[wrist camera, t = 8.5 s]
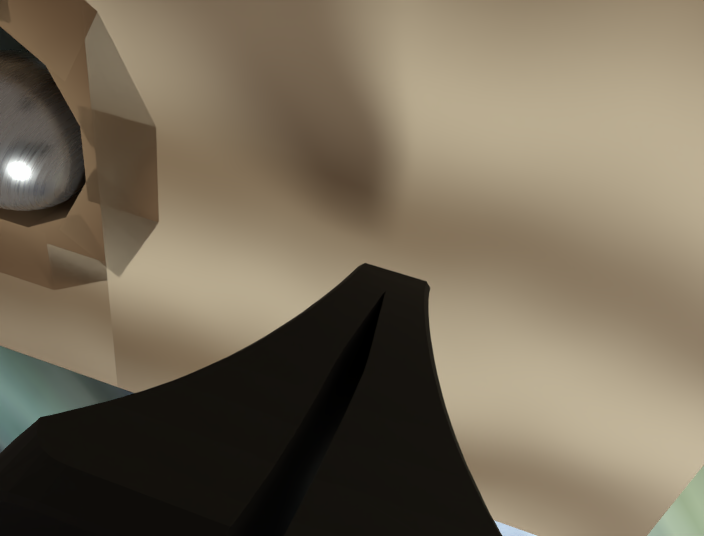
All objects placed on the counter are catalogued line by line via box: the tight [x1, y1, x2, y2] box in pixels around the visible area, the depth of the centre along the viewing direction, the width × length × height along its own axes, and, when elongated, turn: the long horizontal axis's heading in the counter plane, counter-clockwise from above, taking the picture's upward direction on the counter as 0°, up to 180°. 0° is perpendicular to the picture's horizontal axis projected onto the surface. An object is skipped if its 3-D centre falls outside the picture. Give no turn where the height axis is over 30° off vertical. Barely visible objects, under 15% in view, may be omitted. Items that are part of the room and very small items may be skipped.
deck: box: [0, 0, 704, 536], centre depth 15 cm, size 16×26×2 cm, turn 80°
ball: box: [0, 50, 86, 211], centre depth 15 cm, size 4×4×4 cm
